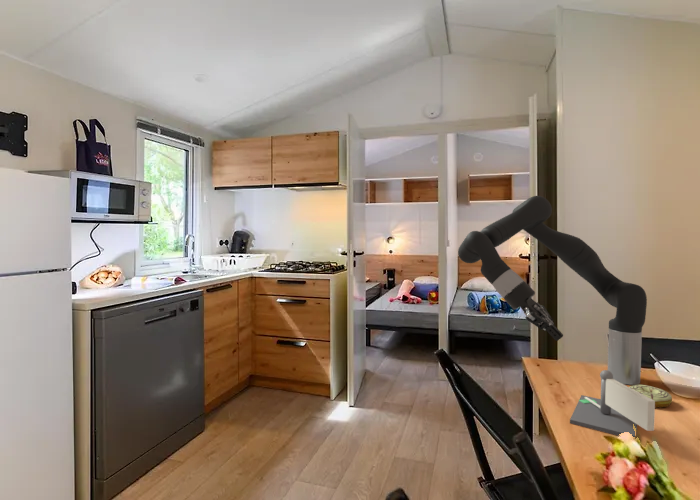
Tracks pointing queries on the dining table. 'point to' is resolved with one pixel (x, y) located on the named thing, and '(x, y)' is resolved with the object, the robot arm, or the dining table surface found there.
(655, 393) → the decorated donut
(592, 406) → the dial plate
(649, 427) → the grey upright panel
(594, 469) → the dining table surface
